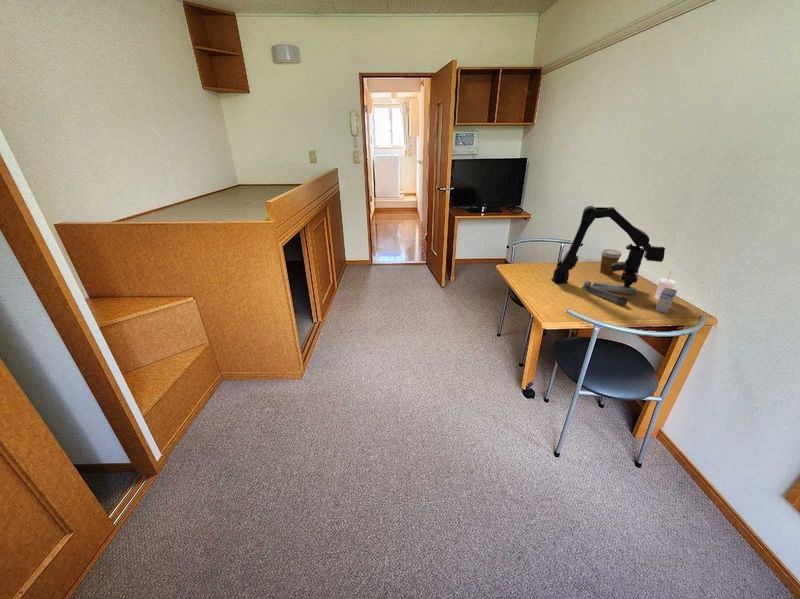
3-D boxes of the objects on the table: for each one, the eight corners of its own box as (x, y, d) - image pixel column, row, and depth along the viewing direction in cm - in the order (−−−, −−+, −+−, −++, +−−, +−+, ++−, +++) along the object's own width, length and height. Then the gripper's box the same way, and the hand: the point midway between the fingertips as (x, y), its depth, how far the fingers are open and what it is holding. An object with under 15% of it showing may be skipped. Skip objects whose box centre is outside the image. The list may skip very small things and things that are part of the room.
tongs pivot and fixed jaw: (578, 288, 169) (580, 281, 167) (585, 286, 171) (587, 279, 169) (622, 306, 150) (624, 299, 149) (629, 304, 152) (631, 297, 150)
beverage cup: (660, 301, 154) (671, 273, 147) (649, 296, 159) (659, 268, 153) (672, 300, 154) (682, 272, 148) (660, 295, 160) (670, 267, 154)
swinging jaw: (592, 288, 167) (593, 283, 166) (592, 286, 169) (593, 281, 168) (634, 295, 160) (636, 289, 158) (634, 293, 162) (636, 287, 160)
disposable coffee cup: (619, 275, 182) (625, 254, 177) (602, 275, 183) (607, 254, 177) (610, 269, 191) (615, 249, 186) (593, 269, 191) (598, 249, 186)
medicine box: (658, 304, 151) (665, 287, 147) (670, 307, 148) (677, 289, 145) (654, 310, 146) (661, 292, 143) (666, 313, 144) (673, 295, 140)
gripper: (616, 250, 169) (608, 279, 175) (613, 261, 155) (604, 291, 162) (642, 254, 163) (633, 283, 170) (641, 266, 149) (631, 297, 156)
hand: (625, 288), depth 165 cm, fingers closed
